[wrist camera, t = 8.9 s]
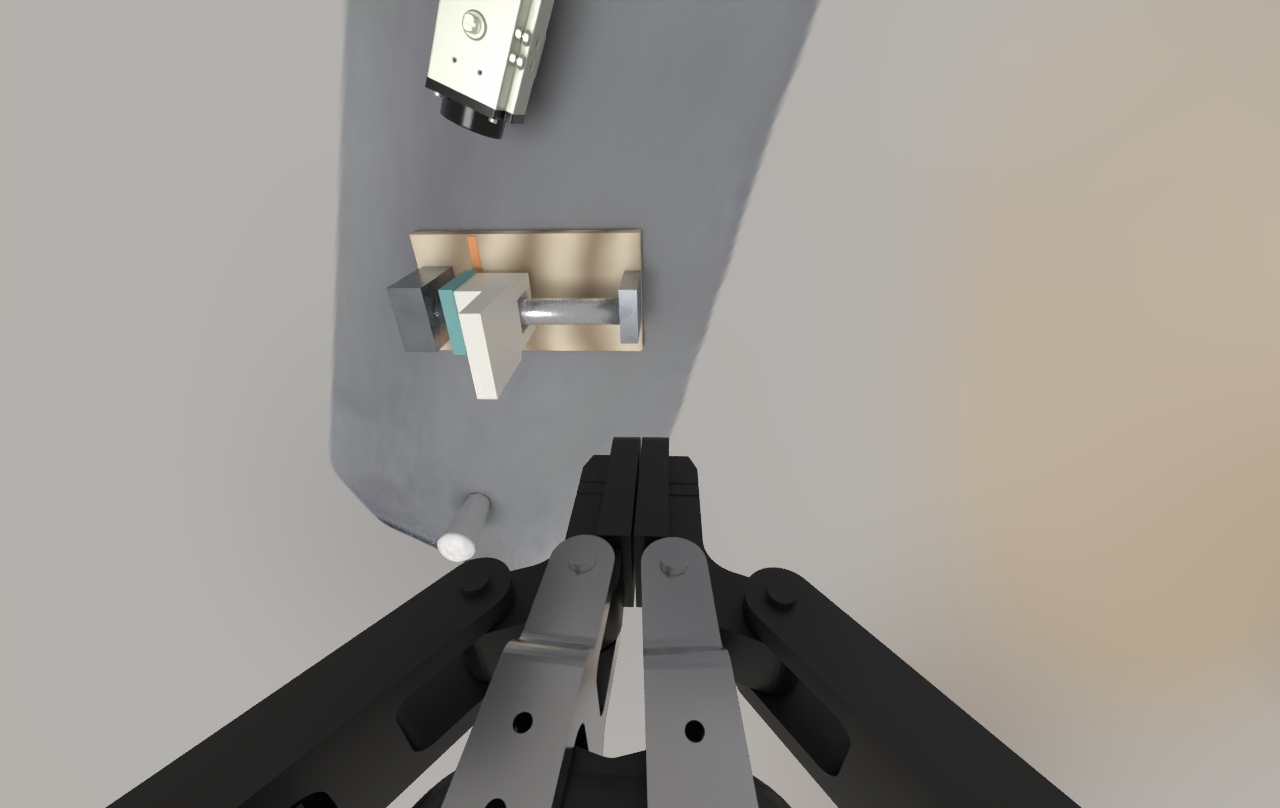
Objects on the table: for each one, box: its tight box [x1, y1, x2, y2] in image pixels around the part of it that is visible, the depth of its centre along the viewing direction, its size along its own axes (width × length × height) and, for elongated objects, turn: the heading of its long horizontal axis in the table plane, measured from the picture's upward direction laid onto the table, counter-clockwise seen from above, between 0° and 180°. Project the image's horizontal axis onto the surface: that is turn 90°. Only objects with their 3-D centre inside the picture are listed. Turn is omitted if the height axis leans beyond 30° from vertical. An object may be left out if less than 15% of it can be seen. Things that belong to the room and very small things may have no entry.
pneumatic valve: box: [425, 0, 555, 139], centre depth 33 cm, size 6×12×12 cm, turn 157°
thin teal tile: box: [438, 270, 477, 355], centre depth 44 cm, size 1×6×6 cm, turn 1°
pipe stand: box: [387, 229, 643, 352], centre depth 45 cm, size 22×12×8 cm, turn 91°
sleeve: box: [453, 273, 536, 399], centre depth 41 cm, size 5×7×13 cm
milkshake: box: [432, 493, 490, 562], centre depth 60 cm, size 4×5×10 cm
